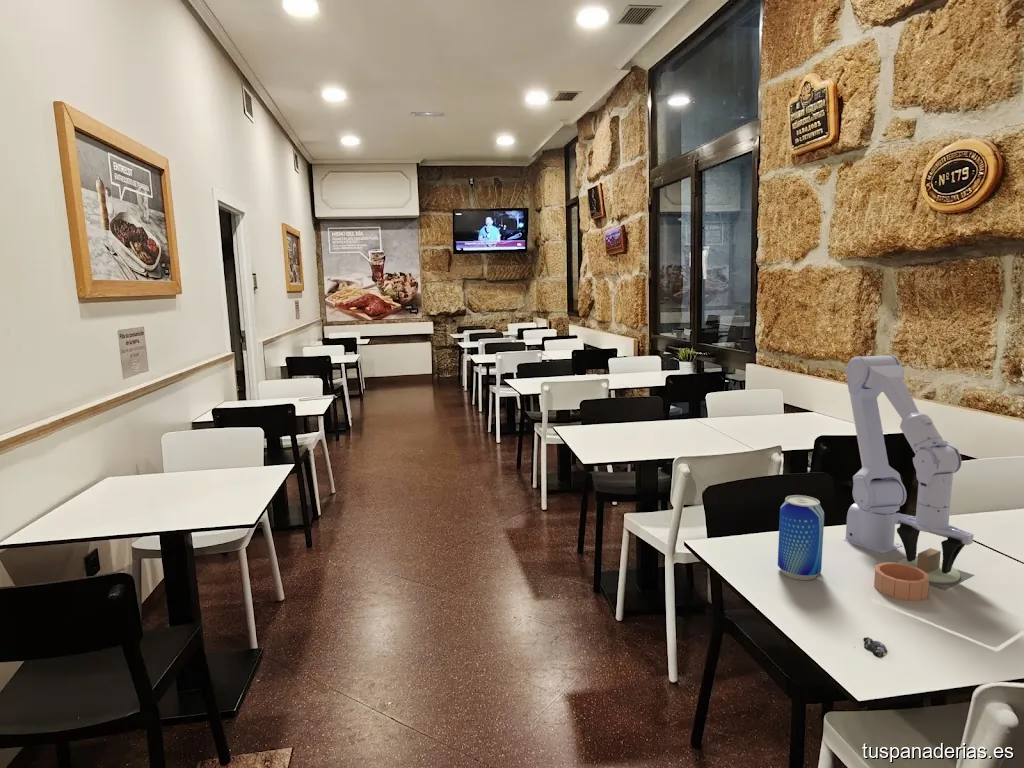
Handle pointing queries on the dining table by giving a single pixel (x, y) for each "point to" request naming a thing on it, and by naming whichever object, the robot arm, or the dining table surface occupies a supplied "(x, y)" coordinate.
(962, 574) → the mat
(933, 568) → the lid
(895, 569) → the bowl
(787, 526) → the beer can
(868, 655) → the dining table surface
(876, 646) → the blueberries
